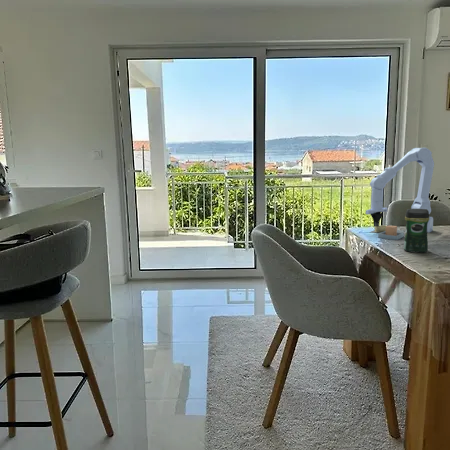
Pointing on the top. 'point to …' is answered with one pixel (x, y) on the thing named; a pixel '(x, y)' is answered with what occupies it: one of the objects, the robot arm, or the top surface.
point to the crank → (380, 227)
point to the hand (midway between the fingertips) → (376, 226)
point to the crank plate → (381, 232)
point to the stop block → (391, 230)
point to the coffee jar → (416, 230)
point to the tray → (399, 236)
